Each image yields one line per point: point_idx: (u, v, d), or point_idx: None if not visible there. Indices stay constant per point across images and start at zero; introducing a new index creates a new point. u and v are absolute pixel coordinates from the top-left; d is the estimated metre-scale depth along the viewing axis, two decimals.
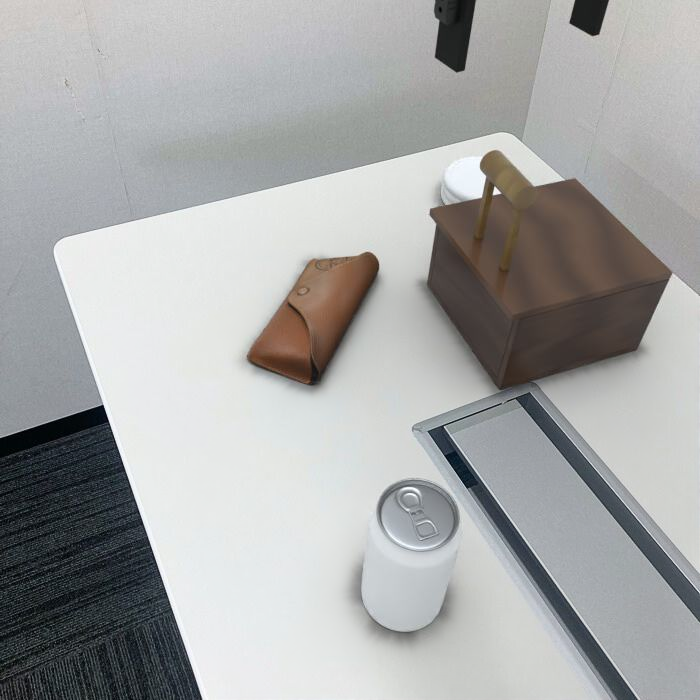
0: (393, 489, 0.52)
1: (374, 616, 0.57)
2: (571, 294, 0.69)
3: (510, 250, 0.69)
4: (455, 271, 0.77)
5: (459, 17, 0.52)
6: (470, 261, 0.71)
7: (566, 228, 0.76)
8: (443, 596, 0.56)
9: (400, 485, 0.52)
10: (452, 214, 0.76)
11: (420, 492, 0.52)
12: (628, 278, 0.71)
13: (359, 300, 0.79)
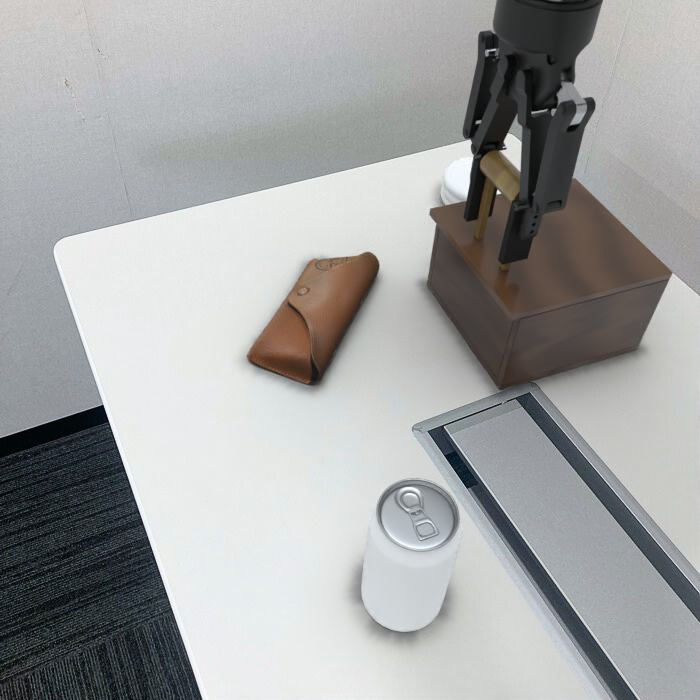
0: (393, 489, 0.52)
1: (374, 616, 0.57)
2: (571, 294, 0.69)
3: None
4: (455, 271, 0.77)
5: None
6: (470, 261, 0.71)
7: (566, 228, 0.76)
8: (443, 596, 0.56)
9: (400, 485, 0.52)
10: (452, 214, 0.76)
11: (420, 492, 0.52)
12: (628, 278, 0.71)
13: (359, 300, 0.79)
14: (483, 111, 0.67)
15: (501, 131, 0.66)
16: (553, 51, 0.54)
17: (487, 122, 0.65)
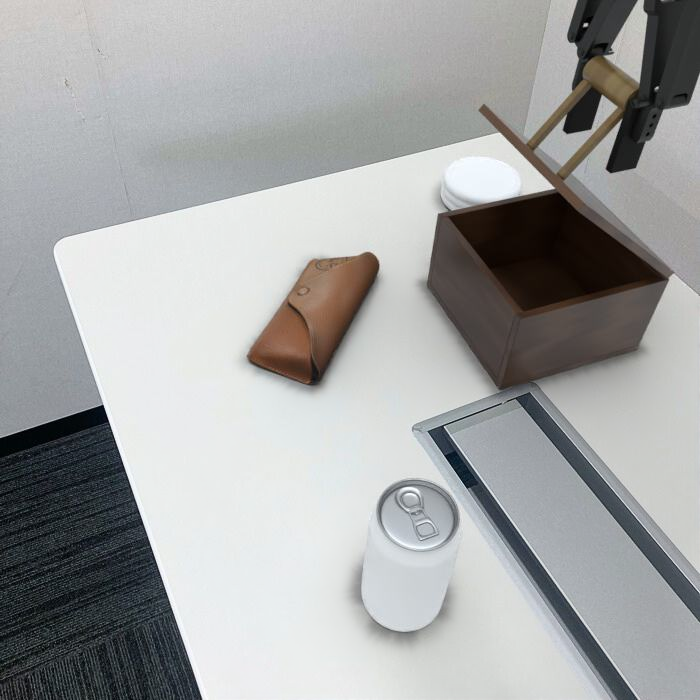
0: (393, 489, 0.52)
1: (374, 616, 0.57)
2: (617, 228, 0.64)
3: (583, 156, 0.64)
4: (455, 271, 0.77)
5: None
6: (532, 152, 0.65)
7: (589, 195, 0.73)
8: (443, 596, 0.56)
9: (400, 485, 0.52)
10: (503, 120, 0.70)
11: (420, 492, 0.52)
12: (649, 252, 0.69)
13: (359, 300, 0.79)
14: (593, 11, 0.64)
15: (613, 30, 0.63)
16: None
17: (601, 19, 0.62)
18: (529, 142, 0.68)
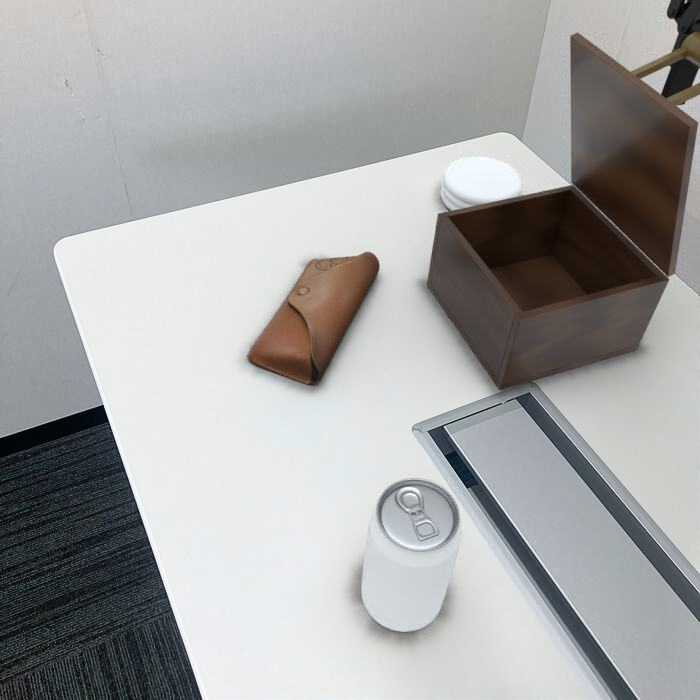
0: (393, 489, 0.52)
1: (374, 616, 0.57)
2: None
3: (677, 101, 0.64)
4: (455, 271, 0.77)
5: None
6: (635, 76, 0.63)
7: None
8: (443, 596, 0.56)
9: (400, 485, 0.52)
10: None
11: (420, 492, 0.52)
12: None
13: (359, 300, 0.79)
14: None
15: None
16: None
17: None
18: None
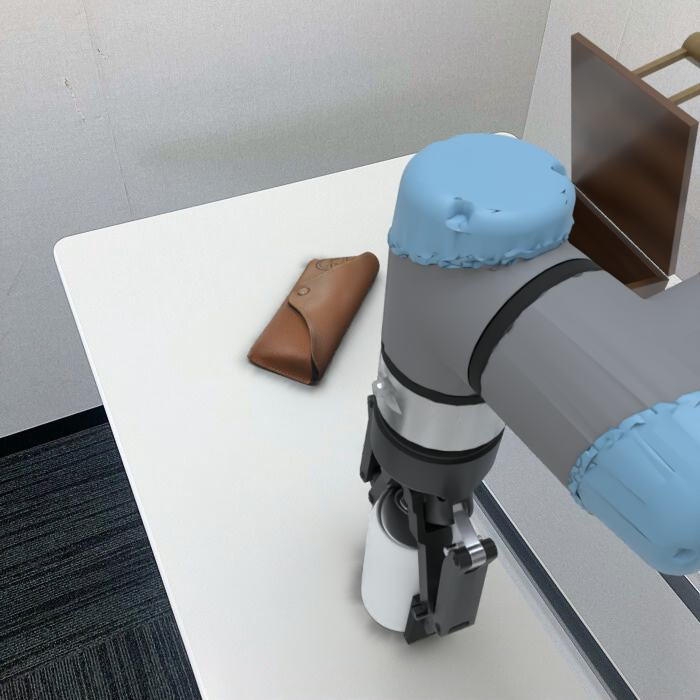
0: (393, 489, 0.52)
1: (374, 616, 0.57)
2: None
3: (677, 101, 0.64)
4: None
5: None
6: (636, 75, 0.63)
7: None
8: None
9: None
10: None
11: None
12: None
13: (360, 300, 0.79)
14: None
15: None
16: (441, 493, 0.42)
17: (382, 489, 0.53)
18: None
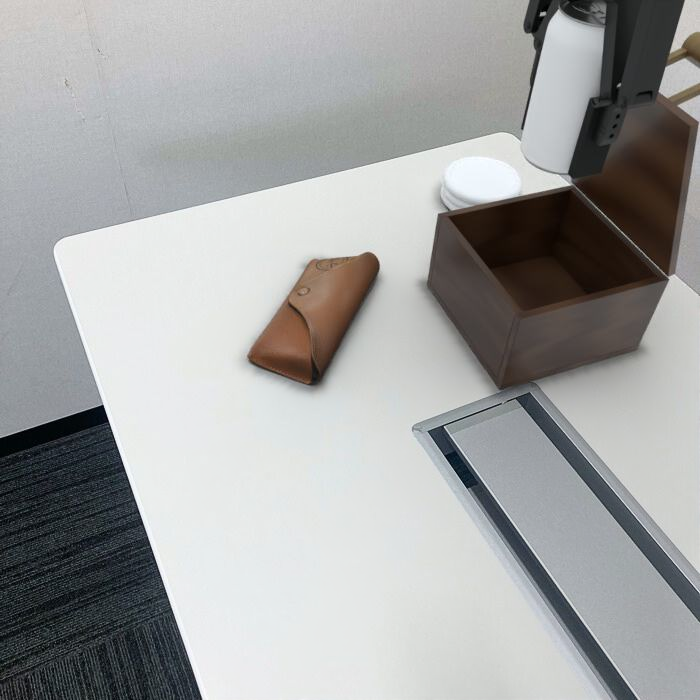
0: None
1: (538, 159, 0.60)
2: None
3: (677, 101, 0.64)
4: (455, 271, 0.77)
5: None
6: None
7: None
8: None
9: None
10: None
11: (595, 3, 0.56)
12: None
13: (360, 300, 0.79)
14: None
15: None
16: None
17: (557, 8, 0.56)
18: None
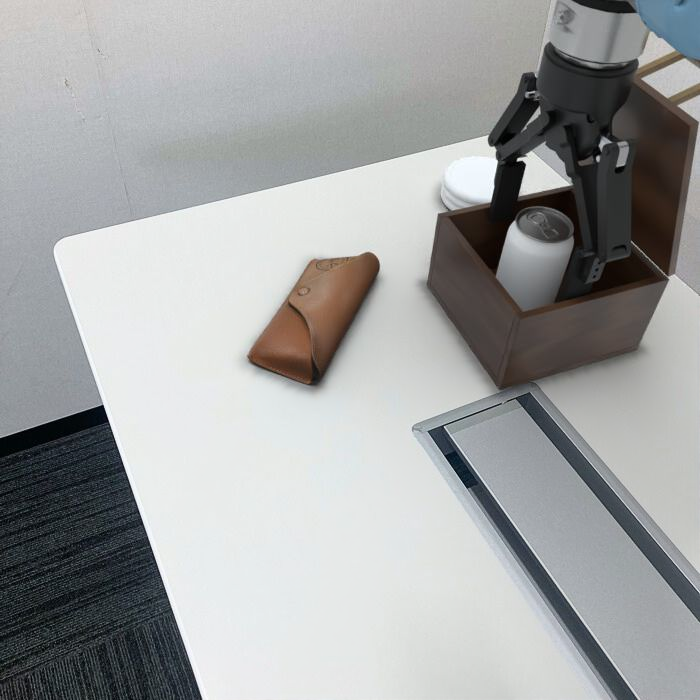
0: (524, 213, 0.74)
1: None
2: None
3: (677, 101, 0.64)
4: (455, 271, 0.77)
5: None
6: (636, 75, 0.63)
7: None
8: (553, 302, 0.77)
9: (529, 211, 0.74)
10: None
11: (544, 214, 0.74)
12: None
13: (360, 300, 0.79)
14: (511, 130, 0.73)
15: (526, 150, 0.73)
16: (593, 112, 0.60)
17: (516, 145, 0.71)
18: None
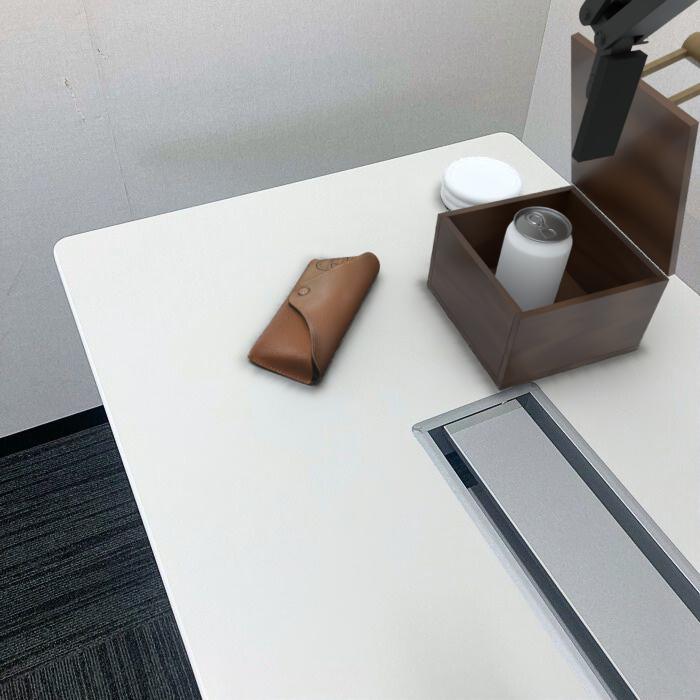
0: (522, 213, 0.74)
1: None
2: None
3: (677, 101, 0.64)
4: (455, 271, 0.77)
5: None
6: None
7: None
8: (553, 302, 0.77)
9: (527, 211, 0.74)
10: None
11: (542, 214, 0.74)
12: None
13: (360, 300, 0.79)
14: None
15: (656, 23, 0.40)
16: None
17: (642, 11, 0.39)
18: None
